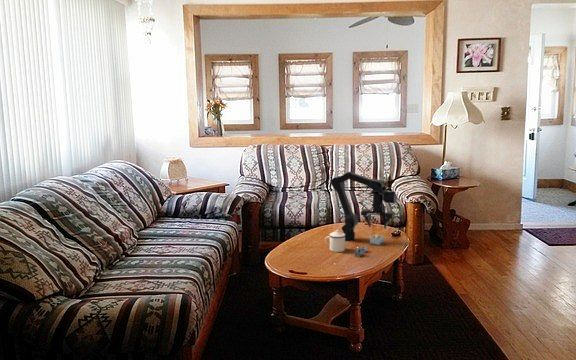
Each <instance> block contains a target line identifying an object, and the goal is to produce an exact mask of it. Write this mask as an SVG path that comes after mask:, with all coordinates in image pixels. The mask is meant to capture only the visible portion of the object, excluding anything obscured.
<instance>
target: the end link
mask: <svg viewBox="0 0 576 360" xmlns="http://www.w3.org/2000/svg"><path fill="white" fill-rule="evenodd" d="M375 235H376V234H373V235H372V236H370V237H369V244H370V243H371V244H378V245H380V244H382V243H383V241H384V235H379V238H375Z"/></svg>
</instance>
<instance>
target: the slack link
mask: <svg viewBox="0 0 576 360" xmlns="http://www.w3.org/2000/svg"><path fill="white" fill-rule="evenodd" d="M359 247H360V250H363V254H365V253H366V252H368V247H367V246H365V245H364V246H363V245H362V246H359Z"/></svg>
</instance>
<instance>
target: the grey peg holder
mask: <svg viewBox="0 0 576 360" xmlns="http://www.w3.org/2000/svg"><path fill="white" fill-rule="evenodd" d="M374 235H375V238H379V236H380V234H377V233H376V234H374ZM384 243H385V241H384V240H383V243H382V244H380V245H378V244H371V243H370V242H369V246H376V247H377V246H378V247H383V246H384V245H385V244H384Z"/></svg>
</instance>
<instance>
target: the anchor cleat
mask: <svg viewBox="0 0 576 360" xmlns="http://www.w3.org/2000/svg"><path fill="white" fill-rule="evenodd" d="M360 247H361V246H357V248H356V249H357V250H355V251H354V257H357V258H361V257H362V256H363V255H364V253H363V250H360Z"/></svg>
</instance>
